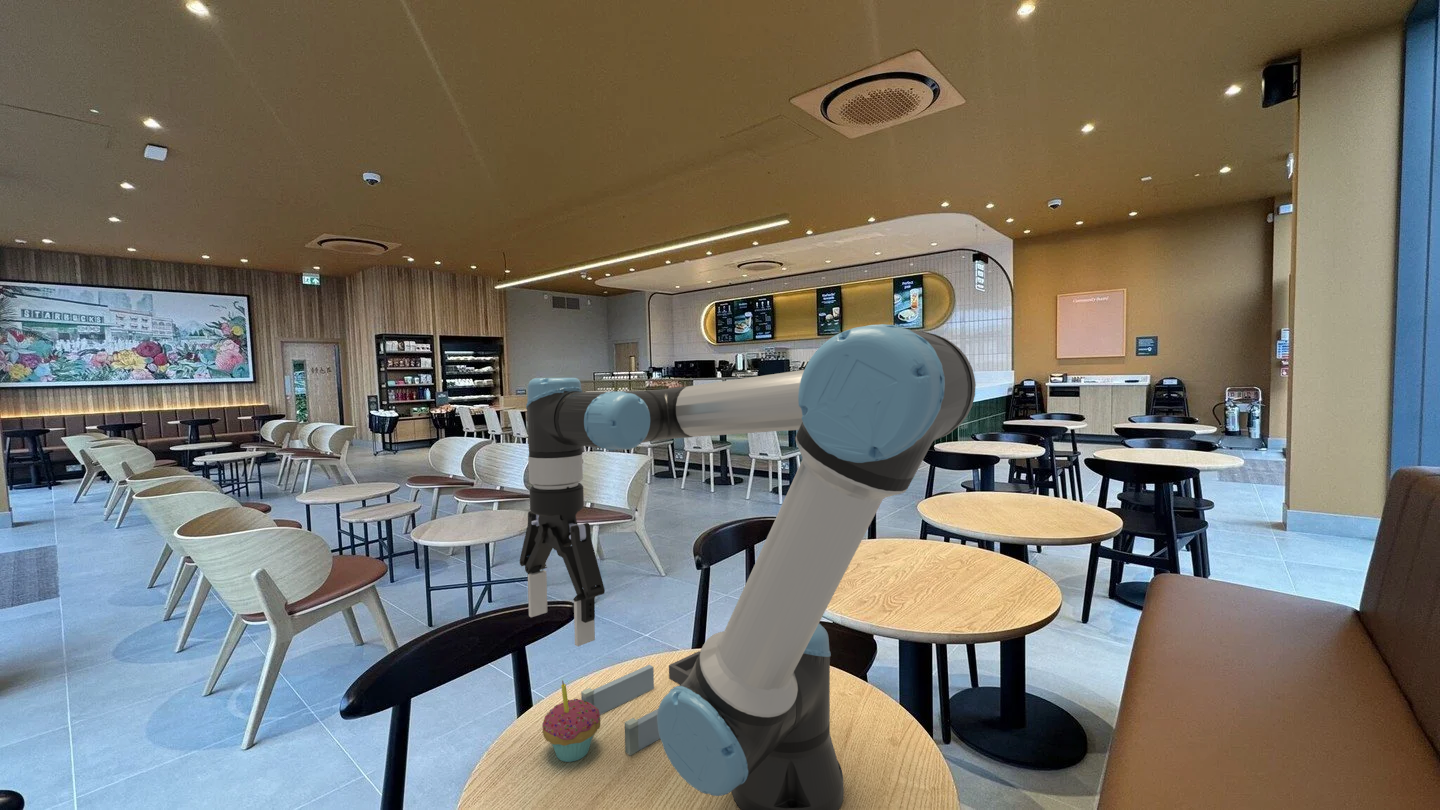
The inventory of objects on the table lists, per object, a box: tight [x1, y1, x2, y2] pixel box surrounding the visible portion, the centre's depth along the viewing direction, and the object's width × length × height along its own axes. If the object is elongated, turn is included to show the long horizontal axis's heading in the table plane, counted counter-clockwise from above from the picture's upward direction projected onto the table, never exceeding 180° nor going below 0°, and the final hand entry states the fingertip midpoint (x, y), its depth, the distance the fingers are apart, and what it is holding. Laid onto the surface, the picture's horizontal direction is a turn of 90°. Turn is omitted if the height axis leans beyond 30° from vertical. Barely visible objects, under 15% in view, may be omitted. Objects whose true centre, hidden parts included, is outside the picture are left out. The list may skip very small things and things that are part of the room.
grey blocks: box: [580, 664, 661, 756], centre depth 96 cm, size 13×14×5 cm
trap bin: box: [668, 650, 701, 686], centre depth 106 cm, size 13×8×2 cm, turn 44°
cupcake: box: [541, 680, 601, 763], centre depth 87 cm, size 9×8×12 cm
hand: (560, 627), depth 85 cm, fingers open, 13 cm apart
